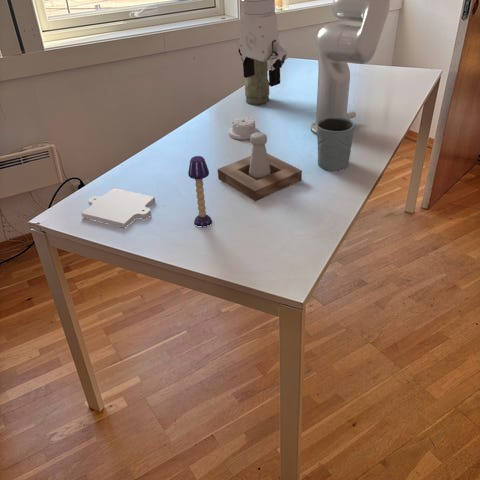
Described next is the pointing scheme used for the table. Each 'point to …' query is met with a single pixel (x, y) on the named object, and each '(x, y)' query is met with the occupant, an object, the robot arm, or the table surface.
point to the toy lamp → (199, 188)
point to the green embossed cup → (334, 143)
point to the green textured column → (258, 85)
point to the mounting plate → (119, 207)
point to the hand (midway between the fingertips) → (261, 80)
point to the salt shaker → (259, 157)
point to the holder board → (261, 188)
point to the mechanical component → (242, 128)
